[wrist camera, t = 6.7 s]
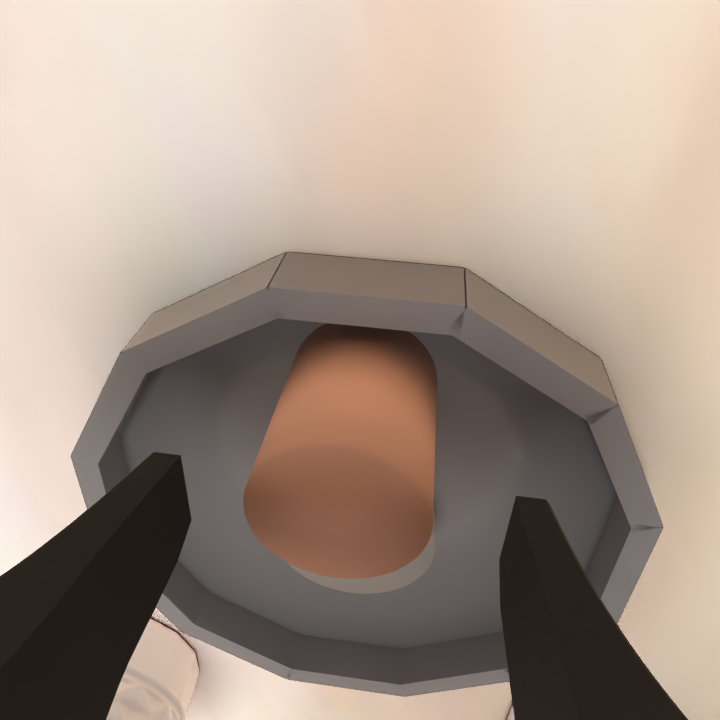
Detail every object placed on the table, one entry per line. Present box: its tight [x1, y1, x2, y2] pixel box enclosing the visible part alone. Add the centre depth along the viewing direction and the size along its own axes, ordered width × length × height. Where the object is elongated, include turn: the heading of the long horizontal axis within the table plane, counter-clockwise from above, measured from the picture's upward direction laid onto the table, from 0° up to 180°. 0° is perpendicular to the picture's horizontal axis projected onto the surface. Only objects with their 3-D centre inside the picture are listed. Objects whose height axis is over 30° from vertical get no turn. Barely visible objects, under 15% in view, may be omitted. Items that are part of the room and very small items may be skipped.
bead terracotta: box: [243, 323, 437, 579], centre depth 15 cm, size 4×4×5 cm
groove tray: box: [71, 252, 663, 697], centre depth 19 cm, size 17×17×2 cm
